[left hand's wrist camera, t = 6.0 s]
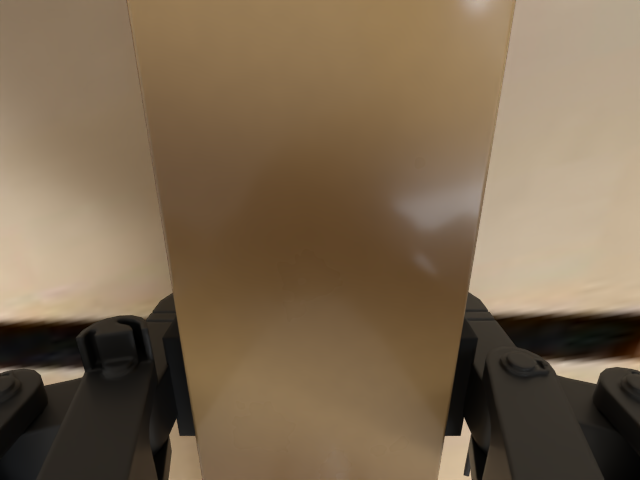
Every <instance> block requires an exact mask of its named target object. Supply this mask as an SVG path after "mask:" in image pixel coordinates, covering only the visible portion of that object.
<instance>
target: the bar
mask: <svg viewBox="0 0 640 480" xmlns="http://www.w3.org/2000/svg"><path fill="white" fill-rule="evenodd" d="M515 3H516V0H127V6H128V12H129V19H130V25H131V31H132V37H133V44H134V50H135V56H136V63H137V69H138V75H139V82H140V88H141V94H142V101H143V107H144V113H145V119H146V126H147V132H148V138H149V145H150V151H151V157H152V164H153V170H154V176H155V183H156V189H157V195H158V202H159V208H160V214H161V220H162V227H163V233H164V239H165V246H166V252H167V258H168V265H169V271H170V277H171V284H172V290H173V296H174V302H175V309H176V315H177V321H178V328H179V334H180V340H181V347H182V353H183V359H184V366H185V372H186V378H187V385H188V391H189V397H190V403H191V410H192V416H193V422H194V429H195V435H196V441H197V448H198V454H199V460H200V467H201V473H202V479H203V480H438V474H439V468H440V462H441V455H442V449H443V443H444V437H445V431H446V425H447V419H448V413H449V406H450V400H451V394H452V388H453V382H454V376H455V370H456V364H457V358H458V351H459V345H460V339H461V333H462V327H463V321H464V315H465V309H466V302H467V296H468V290H469V284H470V278H471V272H472V266H473V260H474V254H475V247H476V241H477V235H478V229H479V223H480V217H481V211H482V205H483V198H484V192H485V186H486V180H487V174H488V168H489V162H490V156H491V149H492V143H493V137H494V131H495V125H496V119H497V113H498V107H499V101H500V94H501V88H502V82H503V76H504V70H505V64H506V58H507V52H508V45H509V39H510V33H511V27H512V21H513V15H514V9H515Z"/></svg>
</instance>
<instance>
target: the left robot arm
mask: <svg viewBox="0 0 640 480" xmlns="http://www.w3.org/2000/svg"><path fill="white" fill-rule="evenodd" d="M76 341H77V344H78V348H79V351H80V355H81V359H82V362H83V366H84V369H85V373H84V376H83V377H82V378H78V379H74V380H70V381H65V382H60V383H55V384H51V385H46V386H44V384H43V381H42V378H41V375H40V374H39V373H37V372H36V371H35V370H29V369H18V370H11V371H6V372H3V373H0V480H168V478H169V470H170V461H171V453H172V450H171V443H170V438H169V434H170V432H171V430H172V427H173V425H174V423H175V420H176V418H177V423H178V429H179V434H180V436H196V435H195V429H194V422H193V416H192V410H191V403H190V397H189V391H188V385H187V378H186V372H185V366H184V359H183V353H182V347H181V340H180V334H179V328H178V321H177V315H176V309H175V302H174V296H173V293H172V294H170V295H169V296H167V297H166V298H164V299H163V300H161V301H160V302H159V304H158V305H157V306H156V308H155V309H154V310H153V313H151V314H150V315H149V317H148V318H147V319H146V321H145V320H144V319H143V318H141V317H137V316H133V315H126V316H116V317H111V318H107V319H104V320H101V321H99V322H96V323H94V324H92V325H91V326H89V327H87V328H86V329H84V330H83V331H82V332H81V333H80V334H79V335H78V336H77V337H76ZM464 418H465V420H466V422H467V425H468V427H469V429H470V432H471V438H470V443H469V448H468V453H467V458H466V463H465V469H464V475H465V476H469V473H470V469H471V478H472V480H640V372H639V371H638V370H633V369H628V368H620V367H614V368H607V369H605V370H604V371H603V372H601V373H600V376H599V379H598V382H597V384H593V383H588V382H583V381H579V380H574V379H569V378H565V377H561V376H557V375H556V373H555V371H554V369H553V368H552V367H551V366H550V364H549V363H548V362H547V361H545V360H544V359H542V358H541V357H540V356H538V355H536V354H534V353H532V352H530V351H527V350H524V349H520V348H517V347H516V346H515V345H514V344H513V342H512V341H511V340H510V338H509V337H508V336H507V334H506V333H505V332H504V330H503V329H502V328H501V327H500V325H499V324H498V323H497V321H495V320H494V317H493V316H492V315H491V313H490V312H488V310H487V308H486V307H485V306H484V304H483V303H482V302H481V300H480V299H478V298H477V297H475V296H474V295H472V294H470V293H469V292H468V296H467V302H466V309H465V315H464V321H463V327H462V333H461V339H460V345H459V351H458V358H457V364H456V370H455V376H454V382H453V388H452V394H451V400H450V406H449V413H448V419H447V425H446V431H445V436H461V430H462V425H463V419H464Z"/></svg>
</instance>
